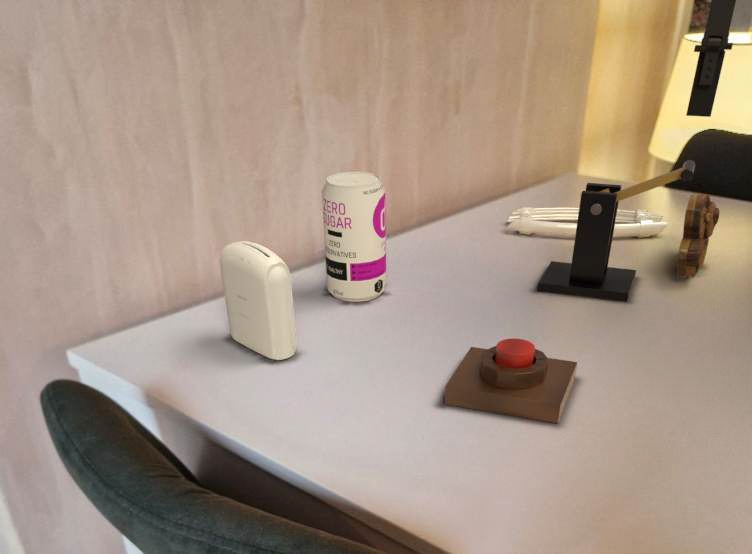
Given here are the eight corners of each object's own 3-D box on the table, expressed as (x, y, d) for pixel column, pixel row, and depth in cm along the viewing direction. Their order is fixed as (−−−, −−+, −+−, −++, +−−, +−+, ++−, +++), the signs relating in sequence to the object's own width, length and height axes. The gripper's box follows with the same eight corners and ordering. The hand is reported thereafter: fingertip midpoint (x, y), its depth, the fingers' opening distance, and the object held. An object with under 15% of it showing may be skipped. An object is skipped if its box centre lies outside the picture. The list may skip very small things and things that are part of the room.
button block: (574, 379, 85) (579, 346, 82) (557, 423, 77) (562, 388, 75) (469, 364, 88) (471, 331, 86) (444, 404, 81) (445, 370, 79)
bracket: (634, 278, 108) (653, 183, 100) (627, 301, 102) (646, 202, 94) (550, 269, 112) (561, 176, 104) (537, 291, 105) (548, 194, 98)
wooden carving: (705, 290, 104) (724, 215, 98) (669, 287, 105) (686, 212, 99) (707, 251, 116) (724, 182, 110) (675, 248, 118) (690, 180, 111)
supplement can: (391, 283, 109) (390, 171, 100) (378, 305, 103) (377, 188, 93) (336, 279, 111) (331, 169, 101) (320, 301, 104) (313, 186, 95)
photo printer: (225, 338, 95) (211, 239, 88) (254, 328, 98) (242, 230, 90) (273, 365, 89) (262, 260, 82) (302, 354, 91) (294, 251, 84)
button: (536, 356, 81) (538, 341, 80) (528, 372, 79) (530, 357, 77) (500, 351, 83) (501, 336, 82) (490, 367, 80) (492, 351, 79)
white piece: (666, 242, 120) (506, 237, 124) (658, 223, 128) (507, 219, 131) (670, 225, 118) (508, 220, 122) (661, 206, 126) (509, 202, 130)
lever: (697, 173, 96) (692, 154, 95) (695, 183, 92) (690, 163, 91) (594, 210, 103) (589, 193, 102) (588, 221, 100) (583, 203, 98)
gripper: (718, -142, 82) (669, 103, 96) (713, -149, 72) (660, 124, 87) (795, -145, 80) (733, 106, 94) (800, -154, 70) (731, 128, 85)
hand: (698, 114), depth 90 cm, fingers closed
